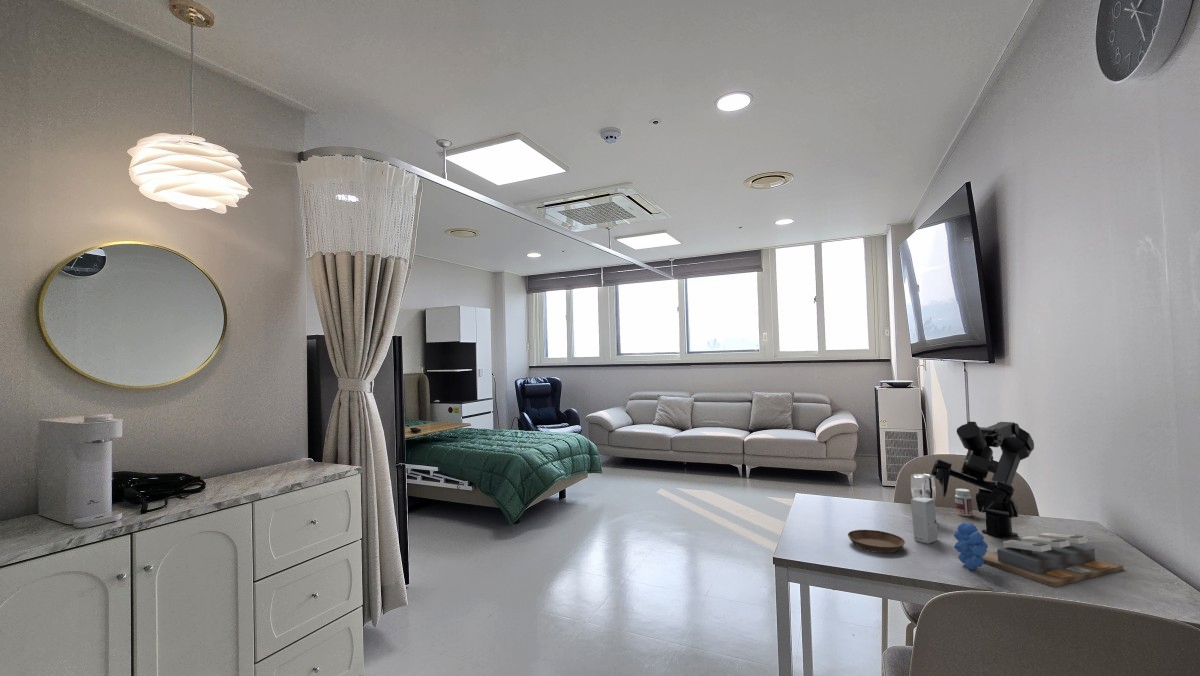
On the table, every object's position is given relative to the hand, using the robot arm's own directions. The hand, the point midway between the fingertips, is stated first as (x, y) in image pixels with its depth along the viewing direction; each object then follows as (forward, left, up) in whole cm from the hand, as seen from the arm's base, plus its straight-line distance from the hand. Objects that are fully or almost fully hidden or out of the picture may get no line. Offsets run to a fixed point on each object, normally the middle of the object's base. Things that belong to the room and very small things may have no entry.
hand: (963, 503), depth 139 cm
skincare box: (+1, -12, -14) cm, 18 cm away
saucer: (+18, -14, -14) cm, 27 cm away
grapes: (+9, +9, -14) cm, 19 cm away
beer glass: (-15, -25, -14) cm, 32 cm away
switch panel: (-10, +13, -13) cm, 21 cm away
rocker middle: (-10, +13, -8) cm, 18 cm away
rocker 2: (-17, +13, -8) cm, 23 cm away
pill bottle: (-33, -25, -14) cm, 43 cm away
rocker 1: (-3, +13, -8) cm, 16 cm away
